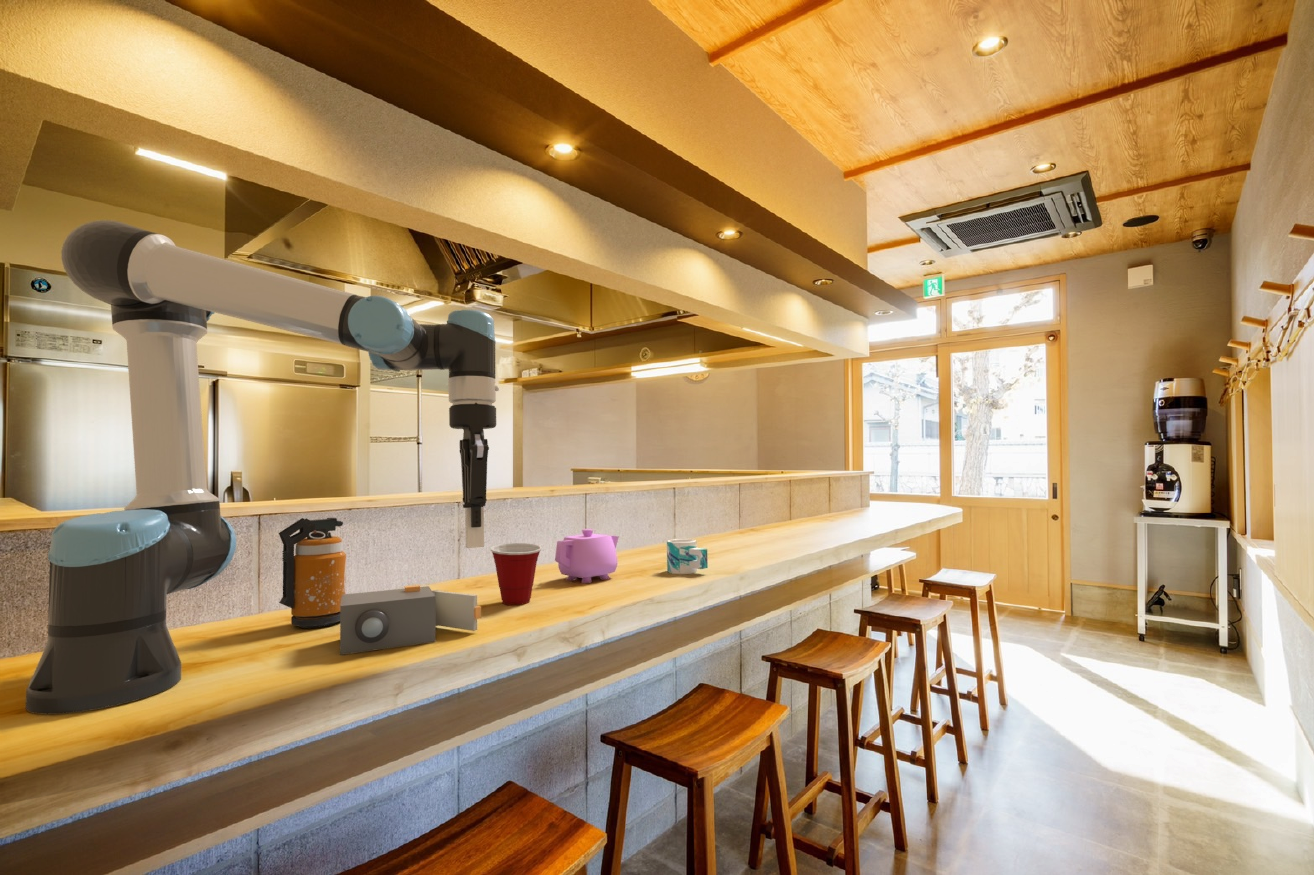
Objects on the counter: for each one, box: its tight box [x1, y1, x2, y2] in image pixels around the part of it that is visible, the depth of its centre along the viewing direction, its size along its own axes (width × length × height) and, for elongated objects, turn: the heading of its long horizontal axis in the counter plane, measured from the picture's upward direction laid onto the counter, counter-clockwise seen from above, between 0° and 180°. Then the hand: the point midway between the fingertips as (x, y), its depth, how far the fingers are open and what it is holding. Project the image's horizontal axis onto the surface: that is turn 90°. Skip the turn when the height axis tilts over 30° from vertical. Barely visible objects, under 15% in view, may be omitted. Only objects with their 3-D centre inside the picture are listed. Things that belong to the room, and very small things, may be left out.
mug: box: [666, 538, 708, 575], centre depth 164 cm, size 8×12×8 cm
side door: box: [432, 589, 482, 632], centre depth 109 cm, size 2×11×6 cm, turn 61°
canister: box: [278, 517, 347, 629], centre depth 115 cm, size 9×11×20 cm
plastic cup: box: [489, 542, 543, 606], centre depth 130 cm, size 11×11×12 cm
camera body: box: [339, 584, 436, 656], centre depth 102 cm, size 14×12×8 cm
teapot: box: [554, 528, 619, 584], centre depth 157 cm, size 20×12×13 cm, turn 136°
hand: (474, 546), depth 101 cm, fingers closed
